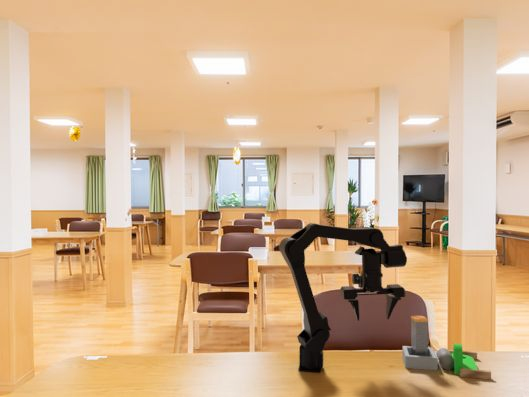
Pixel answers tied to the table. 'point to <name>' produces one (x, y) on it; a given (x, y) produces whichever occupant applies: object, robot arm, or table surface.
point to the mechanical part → (462, 360)
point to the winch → (428, 359)
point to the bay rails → (470, 372)
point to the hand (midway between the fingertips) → (372, 319)
